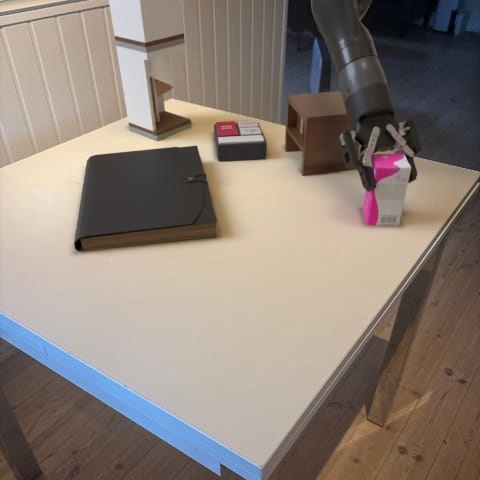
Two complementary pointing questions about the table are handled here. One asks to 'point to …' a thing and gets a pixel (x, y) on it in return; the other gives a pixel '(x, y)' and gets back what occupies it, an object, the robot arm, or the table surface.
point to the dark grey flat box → (239, 140)
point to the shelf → (317, 131)
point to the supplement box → (387, 189)
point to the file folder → (144, 199)
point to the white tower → (148, 62)
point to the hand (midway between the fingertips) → (392, 185)
